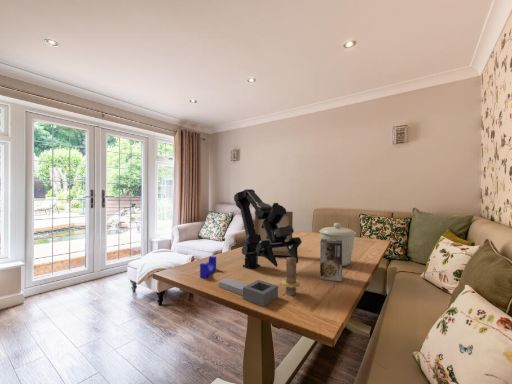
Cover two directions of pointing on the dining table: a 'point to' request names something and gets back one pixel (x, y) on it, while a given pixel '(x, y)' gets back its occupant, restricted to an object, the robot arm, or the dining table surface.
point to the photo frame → (284, 222)
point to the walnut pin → (291, 276)
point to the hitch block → (252, 290)
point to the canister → (340, 234)
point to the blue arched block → (208, 267)
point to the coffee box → (331, 259)
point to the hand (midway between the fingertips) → (287, 264)
